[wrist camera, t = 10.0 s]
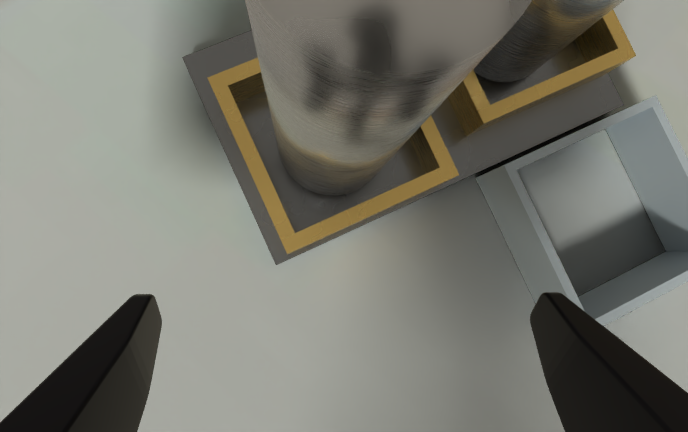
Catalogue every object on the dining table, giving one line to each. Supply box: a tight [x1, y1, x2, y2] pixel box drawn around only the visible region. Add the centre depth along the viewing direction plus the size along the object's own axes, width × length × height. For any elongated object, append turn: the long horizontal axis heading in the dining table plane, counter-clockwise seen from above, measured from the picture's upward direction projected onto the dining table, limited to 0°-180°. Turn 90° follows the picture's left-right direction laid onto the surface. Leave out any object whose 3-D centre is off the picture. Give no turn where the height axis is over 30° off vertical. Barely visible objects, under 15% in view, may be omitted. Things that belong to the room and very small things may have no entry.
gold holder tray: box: [182, 10, 636, 265], centre depth 19 cm, size 18×10×3 cm, turn 115°
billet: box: [245, 0, 532, 196], centre depth 13 cm, size 5×5×13 cm
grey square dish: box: [476, 95, 688, 326], centre depth 20 cm, size 8×8×3 cm
